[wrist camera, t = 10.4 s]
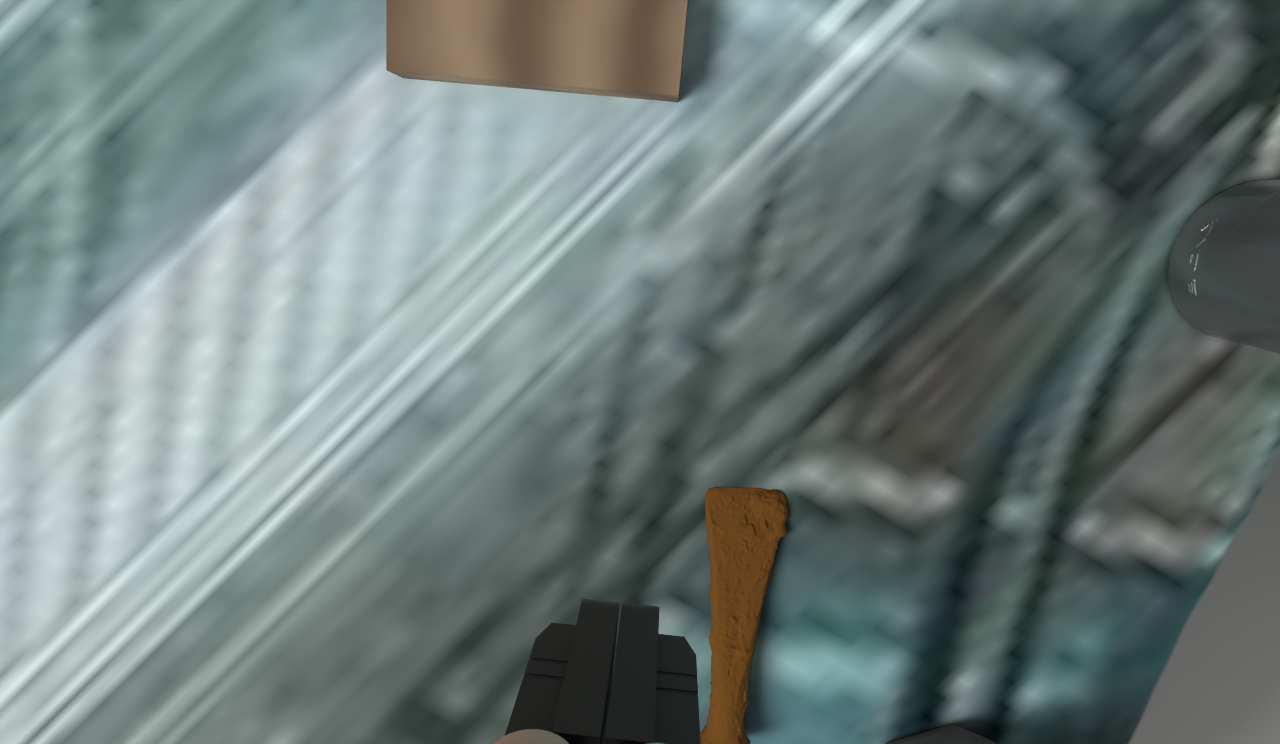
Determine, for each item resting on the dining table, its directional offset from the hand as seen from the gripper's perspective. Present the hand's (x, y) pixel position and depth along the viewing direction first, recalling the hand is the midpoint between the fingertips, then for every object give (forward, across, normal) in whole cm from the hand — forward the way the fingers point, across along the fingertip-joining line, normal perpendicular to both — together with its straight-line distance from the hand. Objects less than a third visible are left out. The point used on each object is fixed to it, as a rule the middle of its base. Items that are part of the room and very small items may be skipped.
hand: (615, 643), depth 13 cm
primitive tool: (+32, -7, +18) cm, 37 cm away
